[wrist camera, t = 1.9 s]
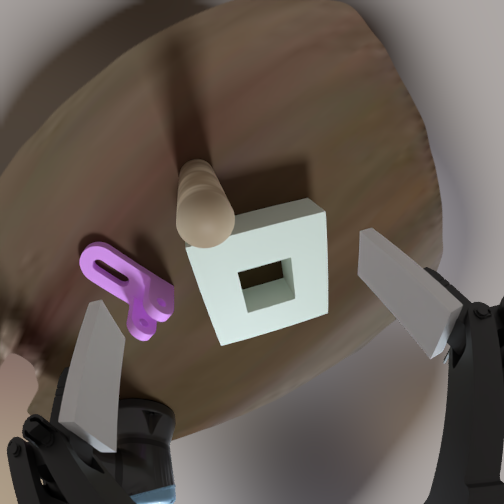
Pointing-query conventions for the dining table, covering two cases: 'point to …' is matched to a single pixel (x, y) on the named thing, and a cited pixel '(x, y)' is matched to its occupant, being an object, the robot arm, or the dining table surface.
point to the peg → (202, 206)
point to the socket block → (261, 253)
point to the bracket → (131, 288)
